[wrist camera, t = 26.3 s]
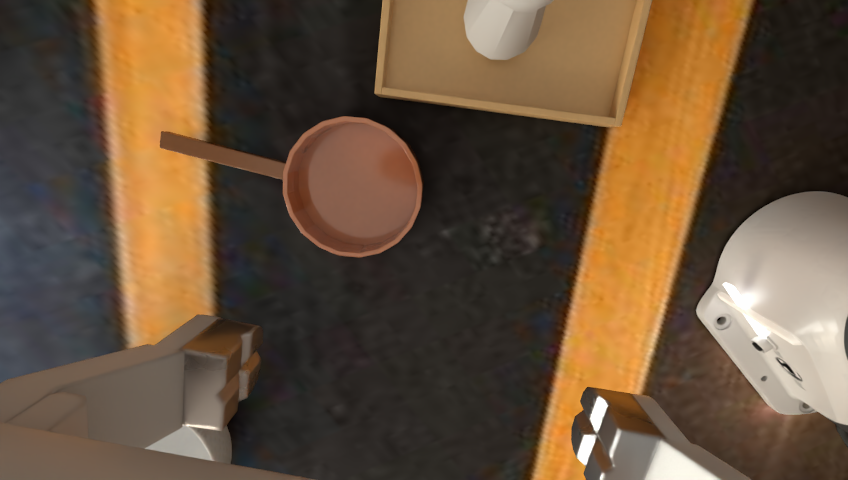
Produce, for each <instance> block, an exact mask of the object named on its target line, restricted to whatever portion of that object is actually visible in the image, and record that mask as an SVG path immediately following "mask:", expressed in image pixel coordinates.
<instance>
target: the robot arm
mask: <svg viewBox="0 0 848 480" xmlns="http://www.w3.org/2000/svg"><path fill="white" fill-rule="evenodd" d="M696 313H697V316H698V317H699V319H700V320H701V321H702V323H703V324H704V325H705V326H706V328H707V329H708V330H709V331H710V333H711V334H712V335H713V336H714V338H715V339H716V340H717V342H718V343H719V344H720V345H721V347H722V348H723V349H724V350H725V352H726V353H727V354H728V355H729V357H730V358H731V359H732V360H733V362H734V363H735V364H736V366H737V367H738V368H739V369H740V371H741V372H742V373H743V374H744V376H745V377H746V378H747V379H748V381H749V382H750V383H751V384H752V386H753V387H754V388H755V390H756V391H757V392H758V393H759V395H760V396H761V397H762V398H763V400H764V401H765V402H766V403H767V405H768V406H770V407H771V408H772V409H773V410H775V411H777V412H778V413H780V414H789V415H798V414H808V413H814V412H819V413H821V414H822V415H824V416H825V417H826V418H828V419H829V420H830V421H832V422H833V423H835V424H836V427H837V431H838V433H839V434H840V436H841V438H842V439H843V441H844V442H845V444H846V445H847V447H848V197H845V196H842V195H839V194H836V193H831V192H822V191H811V192H802V193H797V194H793V195H789V196H786V197H783V198H780V199H778V200H776V201H774V202H771V203H770V204H768V205H766V206H764V207H763V208H761V209H759V210H758V211H757V212H755V213H754V214H753V215H751V216H750V217H749V218H748V219H747V220H746V221H744V222H743V223H742V224H741V225H740V227H739V228H738V229H737V230H736V231H735V232H734V234H733V235H732V236H731V238H730V239H729V241H728V242H727V244H726V246H725V248H724V250H723V252H722V254H721V257H720V259H719V262H718V266H717V270H716V274H715V277H714V280H713V283H712V285H711V286H710V287H709V289H708V290H707V291H706V293H705V294H704V295H703V297H702V298H701V300H700V302H699V303H698V306H697V309H696ZM720 317H721V319H720V320H719V321H717V319H718V318H720ZM262 343H263V329H262V327H261V326H258V325H253V324H248V323H243V322H238V321H233V320H228V319H223V318H220V317H214V316H208V315H196V316H195V317H194V318H192V319H191V320H189V321H188V322H187V323H185V324H184V325H182V326H181V327H180V328H178V329H177V330H175V331H174V332H173V333H171V334H170V335H168V336H167V337H166V338H164V339H163V340H161V341H160V342H159V343H157V344H156V345H148V344H147V345H143V346H139V347H135V348H131V349H127V350H123V351H119V352H115V353H111V354H107V355H103V356H99V357H95V358H91V359H87V360H83V361H79V362H75V363H71V364H67V365H63V366H59V367H55V368H51V369H47V370H44V371H40V372H36V373H32V374H28V375H24V376H20V377H16V378H12V379H8V380H6V381H4V382H2V383H0V480H316V479H310V478H305V477H299V476H294V475H288V474H282V473H277V472H271V471H266V470H260V469H255V468H249V467H244V466H238V465H233V464H227V463H222V462H216V461H210V460H205V459H199V458H194V457H188V456H183V455H177V454H172V453H166V452H161V451H155V450H150V449H145V448H146V447H148V446H150V445H152V444H154V443H155V442H157V441H159V440H161V439H163V438H164V437H166V436H168V435H170V434H172V433H173V432H175V431H177V430H179V429H181V428H182V425H183V426H190V427H196V428H203V429H210V430H216V431H223V429H224V428H225V427H226V425H227V424H228V423H229V421H230V420H231V419H232V417H233V416H234V415H235V413H236V412H237V411H238V402H239V401H241V400H243V399H246V398H247V397H248V396H249V394H250V393H251V392H252V390H253V388H254V386H255V384H256V381H257V379H258V376H259V372H260V367H261V358H260V356H259V354H258V353H257V351H256V350H257V349H258V348H259V347H260V345H261V344H262ZM580 402H581V404H582V407H583V409H584V410H583V411H582V412H580V413H579V414H578V415H576V416H575V419H574V422H573V426H572V438H571V440H572V445H573V450H574V452H575V455H576V457H577V458H578V459H579V460H580V461H581V462H582V463H583V464H584V465H585V466H586V468H585V471H584V476H585V478H586V480H751V479H750V478H748V477H747V476H745V475H744V474H742V473H740V472H739V471H737V470H736V469H734V468H733V467H731V466H730V465H728V464H726V463H725V462H723V461H722V460H720V459H719V458H717V457H715V456H714V455H712V454H711V453H709V452H708V451H706V450H705V449H703V448H701V447H700V446H698V445H695V444H691V443H690V442H689V441H688V440H687V438H686V437H685V436H684V435H683V434H682V433H681V431H680V430H679V429H678V428H677V427H676V425H675V424H674V423H673V422H672V421H671V419H670V418H669V417H668V416H667V415H666V413H665V412H664V411H663V410H662V409H661V407H660V406H659V405H658V404H657V403H656V401H655V400H654V399H652V398H650V397H649V396H644V395H637V394H630V393H624V392H617V391H611V390H605V389H598V388H591V387H587V388H586V389H585V391H584V392H583V395H582V398H581V400H580Z"/></svg>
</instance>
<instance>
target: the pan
mask: <svg viewBox="0 0 848 480" xmlns="http://www.w3.org/2000/svg"><path fill="white" fill-rule="evenodd" d="M423 185H424V181H423V177H422V172H421V168H420V163H419V161H418V159H417V157H416V156H415V154H414V152H413V150H412V149H411V147H410V145H409V144H408V142H406V141H405V140H404V139H403V138H402V137H401V136H400V135H399V134H398V133H396V132H395V131H394V130H393V129H392V128H389V127H387V126H385V125H383V124H380V123H378V122H376V121H374V120H371V119H368V118H360V117H349V116H342V117H338V118H334V119H330V120H326V121H322V122H320V123H319V124H317V125H316V126H314V127H313V128H311V129H310V130H308V131H306V132H305V133H304V134H303V135H302V136H301V137H300V139H299V140H298V141H297V143H296V144H295V145H294V146H293V148H292V149H291V150H290V153H289V156H288V159H287V162H286V165H285V168H284V171H283V196H284V199H285V202H286V205H287V209H288V212H289V215H290V217H291V218H292V219H293V221H294V222H295V224H296V225H297V227H298V228H299V230H300V231H301V233H302V234H303V235H305V236H306V237H307V238H308V239H309V240H311V241H312V242H313V243H314V244H316V245H317V246H318V247H320V248H322V249H325V250H327V251H329V252H332V253H334V254H337V255H340V256H350V257H364V256H369V255H374V254H378V253H381V252H383V251H385V250H386V249H388V248H390V247H392V246H393V245H395V244H397V243H398V242H399V241H400V240H401V239H402V238H403V237H404V236H405V235H406V233H407V232H408V231H409V230H410V229H411V228H412V226H413V224H414V221H415V219H416V217H417V215H418V212H419V210H420V207H421V204H422V196H423Z"/></svg>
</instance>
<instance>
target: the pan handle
mask: <svg viewBox="0 0 848 480" xmlns="http://www.w3.org/2000/svg"><path fill="white" fill-rule="evenodd" d="M160 148H162V149H166V150H170V151H174V152H178V153H182V154H185V155H189V156H193V157H197V158H201V159H205V160H209V161H212V162H216V163H220V164H224V165H228V166H232V167H236V168H240V169H243V170H247V171H251V172H255V173H259V174H263V175H267V176H270V177H274V178H278V179H282V180H283V171H284V168H285V165H286V162H283V161H279V160H275V159H271V158H268V157H264V156H260V155H256V154H252V153H248V152H245V151H241V150H237V149H233V148H229V147H225V146H221V145H218V144H214V143H210V142H206V141H202V140H198V139H195V138H191V137H187V136H183V135H179V134H175V133H172V132H164V131H162V132H161V139H160Z"/></svg>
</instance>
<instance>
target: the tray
mask: <svg viewBox="0 0 848 480" xmlns="http://www.w3.org/2000/svg"><path fill="white" fill-rule="evenodd" d="M467 1H468V0H383V4H382V15H381V26H380V37H379V48H378V59H377V69H376V80H375V91H374V93H375V94H376V95H377V96H379V97H385V98H392V99H400V100H407V101H415V102H422V103H430V104H437V105H445V106H453V107H460V108H468V109H475V110H483V111H490V112H498V113H505V114H513V115H520V116H528V117H535V118H543V119H550V120H558V121H565V122H573V123H580V124H588V125H595V126H603V127H619V126H621V125H622V121H623V117H624V113H625V109H626V104H627V100H628V96H629V92H630V88H631V84H632V80H633V76H634V72H635V68H636V64H637V60H638V56H639V52H640V48H641V44H642V40H643V35H644V31H645V27H646V23H647V19H648V15H649V11H650V7H651V3H652V0H554V1H553V2H552V3H550V4H549V5H546V8H545V12H544V16H543V19H542V23H541V26H540V29H539V32H538V35H537V38H536V39H535V40H534V41H533V42H532V44H531V45H530V46H529V47H528V49H527V50H526V51H525V52H523V53H521V54H519V55H517V56H515V57H513V58H510V59H508V60H491V59H489V58H487V57H485V56H484V55H482V54H480V53H478V52H477V51H476V50H475V49H474V47H473V46H472V44H471V43H470V41H469V40H468V38H467V36H466V30H465V23H464V13H465V9H466V5H467Z"/></svg>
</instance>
